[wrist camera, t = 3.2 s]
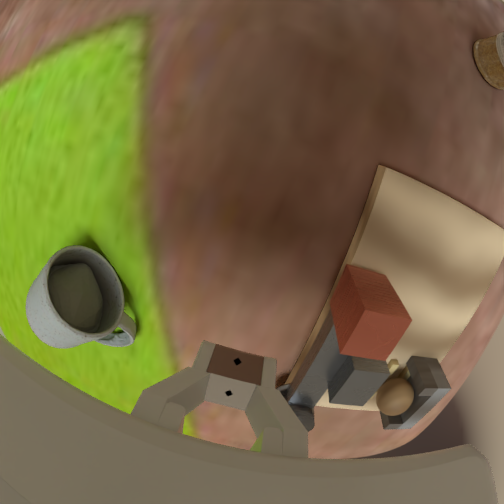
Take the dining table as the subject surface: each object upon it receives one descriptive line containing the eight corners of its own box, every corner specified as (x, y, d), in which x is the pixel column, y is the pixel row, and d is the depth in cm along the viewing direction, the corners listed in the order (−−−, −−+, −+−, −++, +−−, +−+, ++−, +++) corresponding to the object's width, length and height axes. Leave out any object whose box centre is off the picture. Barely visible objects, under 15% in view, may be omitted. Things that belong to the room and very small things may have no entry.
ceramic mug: (52, 269, 22) (5, 308, 16) (88, 230, 20) (27, 272, 13) (113, 344, 26) (80, 394, 19) (160, 323, 23) (125, 386, 16)
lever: (341, 261, 16) (359, 308, 12) (412, 282, 16) (443, 326, 12) (270, 405, 23) (266, 449, 19) (324, 413, 23) (326, 455, 19)
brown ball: (385, 368, 20) (395, 399, 16) (415, 371, 20) (426, 399, 16) (366, 392, 21) (371, 422, 18) (395, 394, 21) (402, 422, 18)
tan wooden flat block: (362, 158, 16) (394, 168, 10) (502, 229, 15) (540, 255, 10) (267, 392, 25) (262, 436, 20) (388, 407, 25) (397, 444, 20)
